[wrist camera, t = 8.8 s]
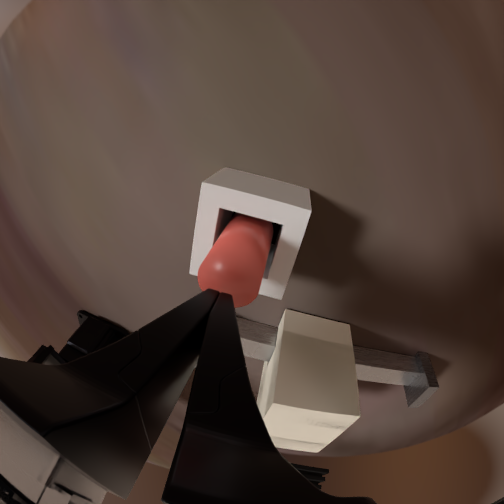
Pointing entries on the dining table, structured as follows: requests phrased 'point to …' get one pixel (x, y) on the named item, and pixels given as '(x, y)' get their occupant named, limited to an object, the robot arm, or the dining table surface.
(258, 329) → the rail
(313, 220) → the dining table surface
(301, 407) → the carriage
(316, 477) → the black fluted column
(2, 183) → the dining table surface
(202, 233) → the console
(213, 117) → the dining table surface
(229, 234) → the plunger
